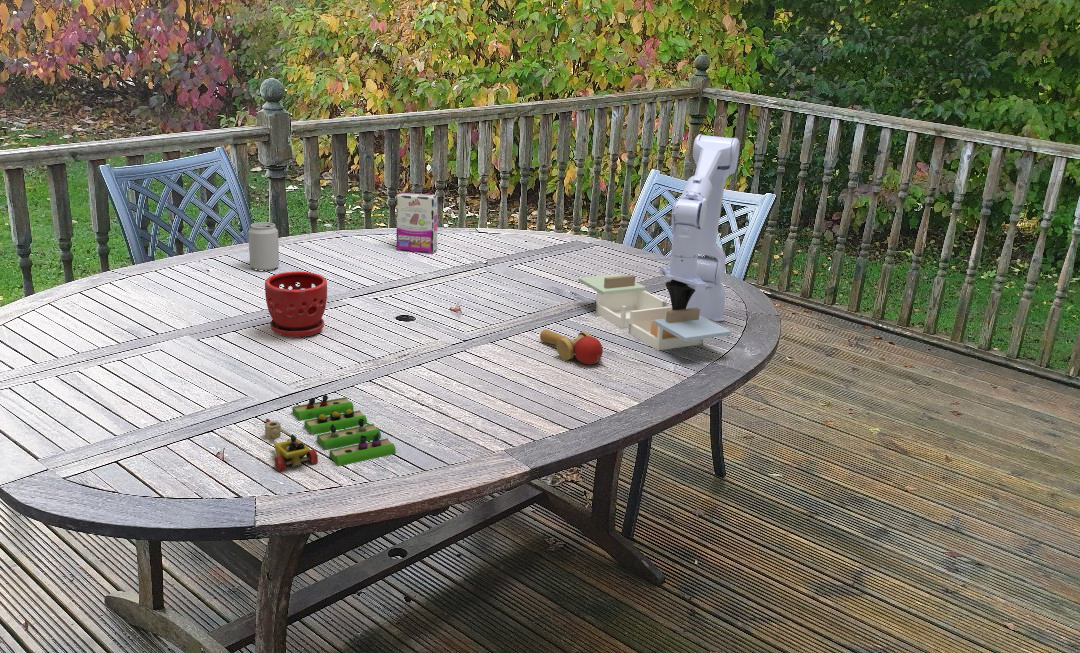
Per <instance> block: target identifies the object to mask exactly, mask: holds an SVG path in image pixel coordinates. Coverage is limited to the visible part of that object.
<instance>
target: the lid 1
mask: <svg viewBox="0 0 1080 653" xmlns="http://www.w3.org/2000/svg"><path fill="white" fill-rule="evenodd" d="M577 281H578V282H579V283H581V284H582V285H585V286H586V287H587V288H590V289H592V290H594V291H595V292H596V293H597V292H599V293H600V294H602V295H607V294H616V293H625V292H634V291H643V290H645V291H646V286H645V285H642V284H641V283H638V282H637V281H636V276H635V275H634V274H631V275H630V274H629V275H624V274H623V275H622V274H621V273H614V274H613V273H612V274H604V275H603V274H602V275H594V276H593V275H592V276H583V277H578V278H577Z"/></svg>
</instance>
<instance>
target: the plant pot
mask: <svg viewBox="0 0 1080 653" xmlns="http://www.w3.org/2000/svg"><path fill="white" fill-rule="evenodd" d="M297 283H299V286H298V285H297ZM281 285H283V288H280V286H281ZM312 285H314V287H313V286H312ZM290 287H292V288H291V289H289V288H290ZM264 290H265V292H264V293H265V301H266V302H265V303H266V306H267V310H268V313H269V316H270V317H271V319H272V320H271V321H270V322H269V327H270V328H271V330H272V331H273V332H274V333H276V334H277V335H280V336H282V337H287V338H305V337H310V336H313V335H316V334H318V333H319V332H321V331H322V330H323V328H324V327H325V321H324V319H323V317H324V313H325V310H326V308H327V300H328V281H327V278H325V277H324V276H323V275H321V274H318V273H315V272H310V271H299V270H297V271H286V272H280V273H279V272H278V273H275V274H273V275H270V276H269V277H267V278H265V282H264Z"/></svg>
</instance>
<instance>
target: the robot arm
mask: <svg viewBox="0 0 1080 653" xmlns="http://www.w3.org/2000/svg"><path fill="white" fill-rule="evenodd" d="M740 146H741V145H740V140H739V138H738V137H726V136H725V137H724V136H713V135H703V134H702V133H700V134H698V135H696V137H695V139H694V142H693V148H692V158H693V160H694V164H695V166H696V168H695V173H694V175H692V176H691V177H689V178H688V179H687V180H686V183H685V187H684V189H683V190H682V194H681V196H680V198H678V200H674V202H673V205H672V210H671V233H672V242H671V244H672V245H671V254H670V265H668V264H664V265H660V266H659V275H661V276H664V277H665V279H667V280H670V281H666V282H665V286H666V289H667V291H668V294H669V297H670V302H671V306H672V310H680V309H688V308H696V307H697V308H699V309H700V314H699V315H701V316H702V317H704V318H706V319H708V320H710V321H712V322H714V323H716V322H717V323H718V322H723V321H725V320H726V319H725V318H724V313H725V312H724V310H725V304H726V288H725V287H724V285H723V284H722V282H723V280H724V278H725V272H726V258H727V256H726V253H725V251H724V250H723V249H721V247H720V246H719V245H718V244H717V238H718V231H719V225H720V219H721V213H722V211H721V210H722V205H723V204H722V203H723V198H724V191H725V185H726V181H727V179H728V176H730V175H733V174H735V173H736V170H737V167H738V162H739V161H738V160H739V154H740ZM701 255H702V256H701Z"/></svg>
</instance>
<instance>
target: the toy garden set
mask: <svg viewBox="0 0 1080 653" xmlns="http://www.w3.org/2000/svg"><path fill="white" fill-rule="evenodd" d="M291 409H292V411H291V412H292V413H293V416H295V417H296V418H297V419H298V420H299V421H304V424H303V425H304V427H305V429H306V430H307V431H308V432H309V433H310V434H311V435H312V436H315V435H316V441H317V443H319V445H320V446H321V447H322V448H323V449H324V451H328V450H330V451H329V455H328V456H329V457H330V459H331V460H332V461H333V462H334V463H335V464H336V465H337V466H338V467H340V466H341V467H342V466H345V465H350V464H354V463H359V462H362V461H363V462H364V461H367V460H372V459H376V458H380V457H381V458H382V457H386V456H390V455H396V453H397V451H396V446H395V444H394V443H392V442H391V441H390V439H389V438H388V437H387V438H383V439H382V434H381V433H382V432H381V430H380V428H377V427H376V426H375V424H374V423H369V424H368V419H367V416H366V415H365V414H363V413H362V411H361V410H355V409H354V404H353V402H352V401H350V400H349V399H348V397H347V396H345V397H340V398H334V399H329V396H328V395H327V394H326V393H325V394H323V395H322V400H321V401H318V402H317V401H316V397H312V398H309V400H308V403H305V404H299V405H294V406H292V408H291ZM265 421H266V423H264V434H265V435H264V437H265V439H268V440H274V441H273V442H272V444H273V446H274V452H275V455H276V456H275V457H274V466H275V468H276V470H277V471H278V472H285V471H286V468H287V465H291V466H292V467H299V466H301V465H302V462H306V461H307V462H309V464H310V465H316V464H318V463H319V458H318V457H319V456H318V453H317V452H316V450H315V449H314V448H313V449H310V448H309V446H307V445H306V444H305V443H303V442H302V441H301V440H299V439H298V438H297V436H295V435H294V434H293V433H289V432H288V431H287V430H285V429H284V428H282V426H281V422H279V421H277V420H273V421H271V419H269V418H266V419H265ZM281 432H282V433H284V434H286V435H288V436H290V438H288V439H286V440H285V441H282V442H277V441H275V440H278V439H280V438H281V436H282V435H281Z"/></svg>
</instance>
